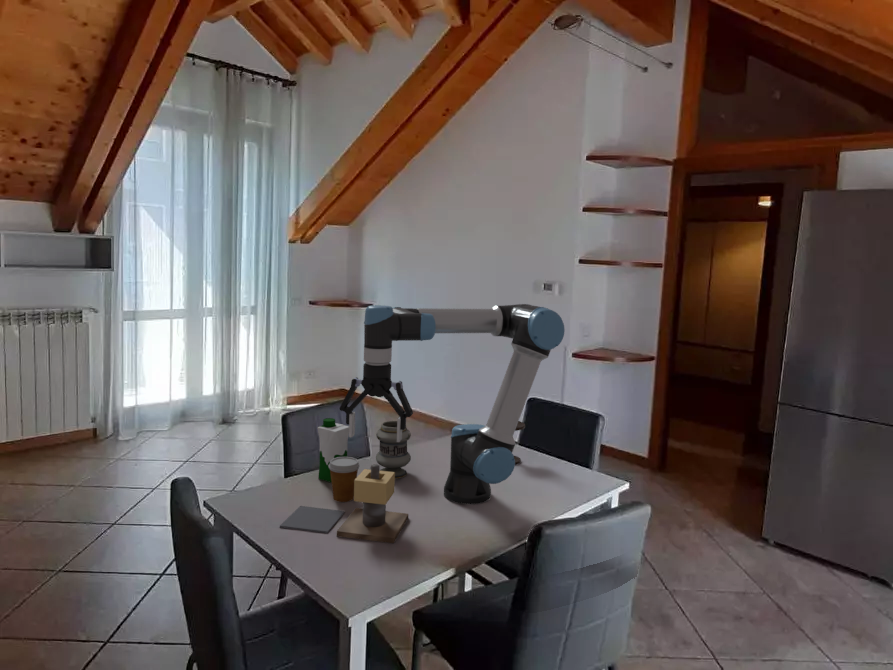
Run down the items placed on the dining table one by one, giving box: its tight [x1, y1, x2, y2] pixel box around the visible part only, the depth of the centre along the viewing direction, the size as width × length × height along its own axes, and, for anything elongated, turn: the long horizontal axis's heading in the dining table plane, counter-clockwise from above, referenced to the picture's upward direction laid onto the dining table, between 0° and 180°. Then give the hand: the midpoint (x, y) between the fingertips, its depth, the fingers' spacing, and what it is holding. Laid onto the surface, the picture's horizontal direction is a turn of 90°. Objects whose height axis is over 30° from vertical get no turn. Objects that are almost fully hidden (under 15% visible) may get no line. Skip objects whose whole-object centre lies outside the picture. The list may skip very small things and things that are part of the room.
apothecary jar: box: [375, 420, 412, 480], centre depth 220 cm, size 12×12×18 cm
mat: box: [279, 505, 346, 534], centre depth 182 cm, size 14×14×1 cm
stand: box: [336, 463, 409, 544], centre depth 178 cm, size 16×16×18 cm
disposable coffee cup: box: [329, 456, 360, 503], centre depth 197 cm, size 10×10×12 cm
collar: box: [353, 468, 396, 506], centre depth 177 cm, size 9×9×6 cm
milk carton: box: [317, 417, 349, 484], centre depth 213 cm, size 9×9×20 cm
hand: (375, 438), depth 175 cm, fingers open, 13 cm apart
